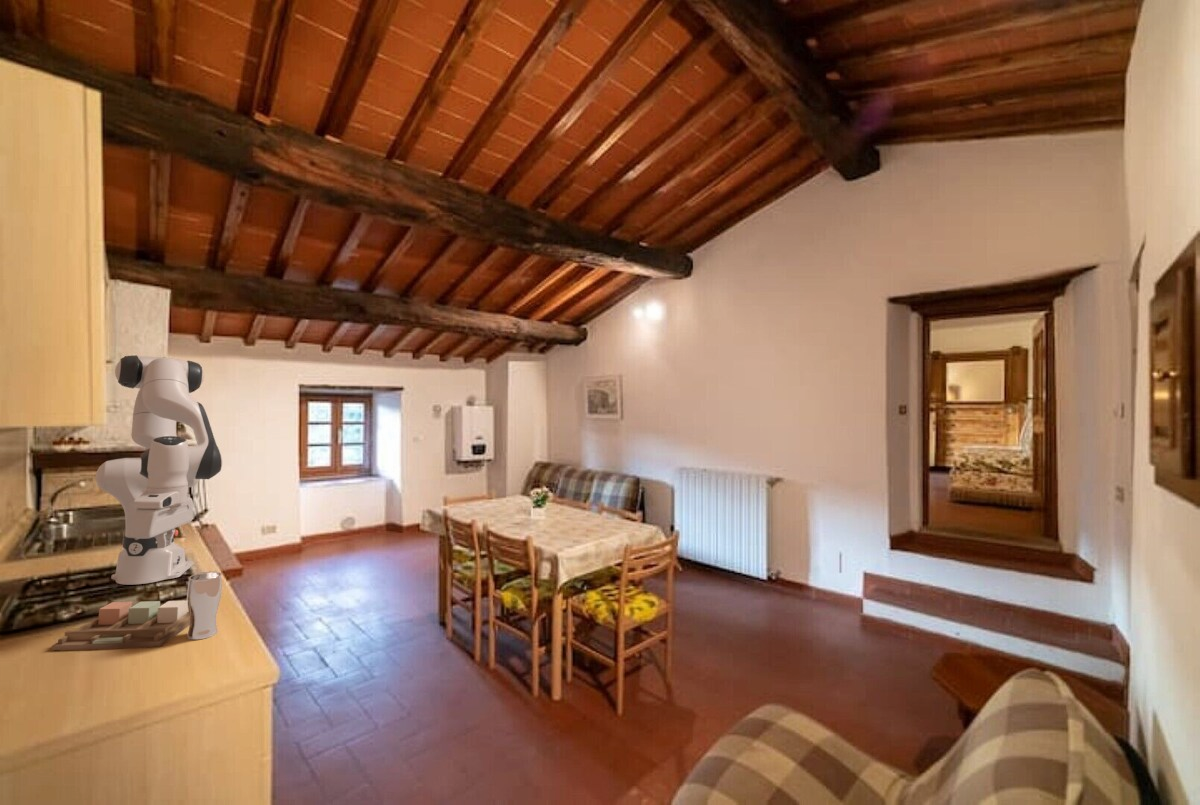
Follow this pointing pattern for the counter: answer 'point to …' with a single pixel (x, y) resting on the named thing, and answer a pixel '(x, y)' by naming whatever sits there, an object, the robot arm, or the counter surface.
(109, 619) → the salmon pink cube
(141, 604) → the sage green cube
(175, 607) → the pale pink cube
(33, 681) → the counter surface
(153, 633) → the brown compartment tray
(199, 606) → the beer glass
